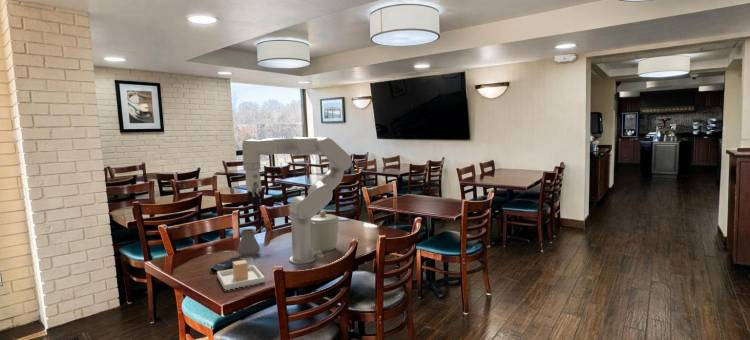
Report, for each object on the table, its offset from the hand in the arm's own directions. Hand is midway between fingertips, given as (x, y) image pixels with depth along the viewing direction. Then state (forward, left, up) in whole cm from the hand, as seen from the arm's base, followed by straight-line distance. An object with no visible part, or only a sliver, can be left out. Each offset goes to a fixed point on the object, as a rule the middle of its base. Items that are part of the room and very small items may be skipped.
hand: (253, 203), depth 186 cm
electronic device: (+12, -6, -31) cm, 34 cm away
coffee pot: (-6, -23, -31) cm, 39 cm away
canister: (-38, -9, -31) cm, 50 cm away
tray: (+10, +13, -30) cm, 34 cm away
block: (+10, +13, -30) cm, 34 cm away
